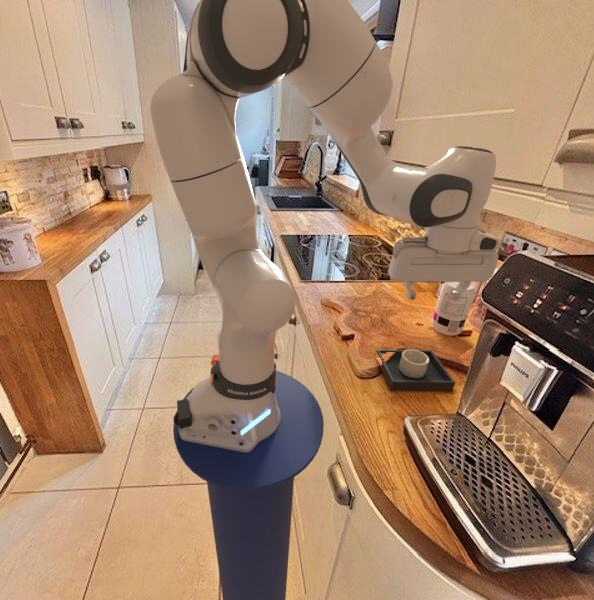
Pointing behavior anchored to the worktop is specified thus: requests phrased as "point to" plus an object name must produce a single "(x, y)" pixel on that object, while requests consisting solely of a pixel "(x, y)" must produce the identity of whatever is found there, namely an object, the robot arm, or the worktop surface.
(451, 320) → the supplement can
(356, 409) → the worktop surface
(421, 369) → the cup
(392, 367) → the tray
